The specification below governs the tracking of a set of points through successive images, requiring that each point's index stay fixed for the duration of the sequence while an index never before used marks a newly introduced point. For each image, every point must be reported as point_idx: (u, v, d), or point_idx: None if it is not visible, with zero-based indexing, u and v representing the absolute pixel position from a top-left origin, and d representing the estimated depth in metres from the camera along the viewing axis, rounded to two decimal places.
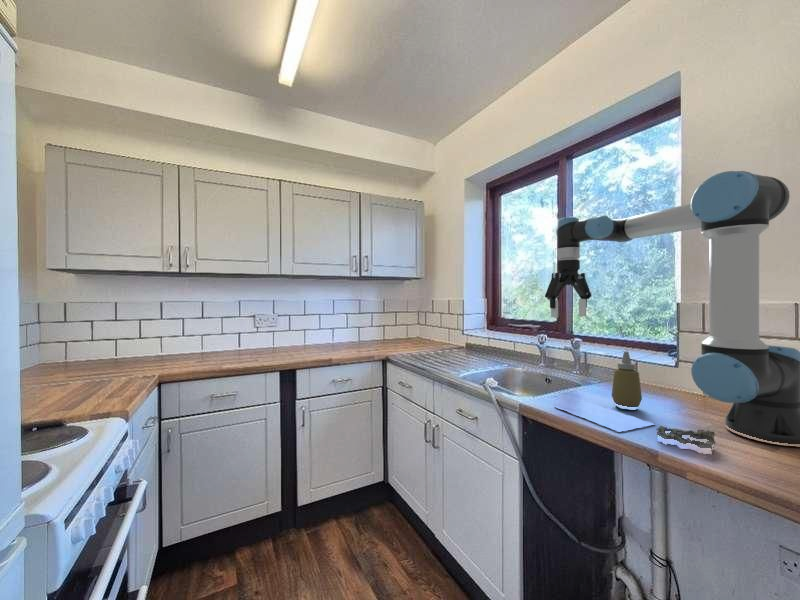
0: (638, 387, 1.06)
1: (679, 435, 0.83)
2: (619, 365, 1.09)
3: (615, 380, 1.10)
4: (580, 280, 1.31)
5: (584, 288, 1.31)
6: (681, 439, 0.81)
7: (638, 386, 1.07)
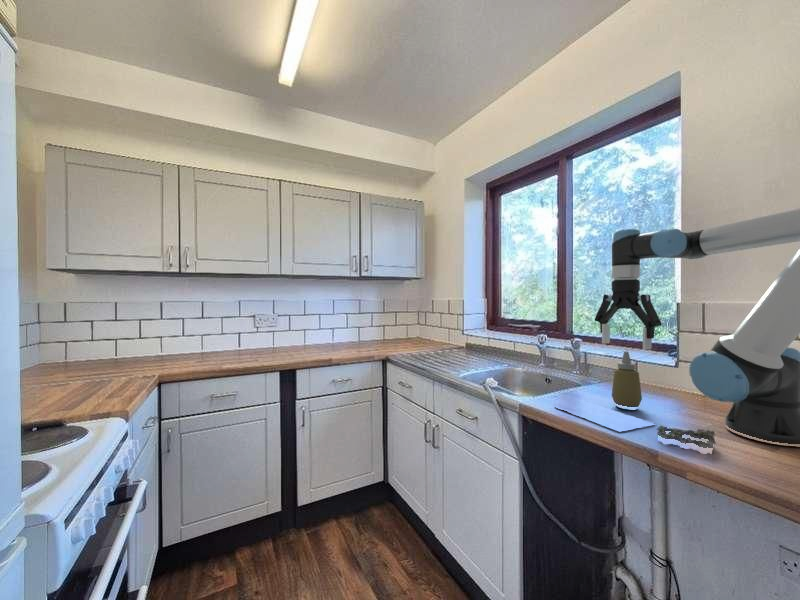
0: (638, 387, 1.06)
1: (679, 435, 0.83)
2: (619, 365, 1.09)
3: (615, 380, 1.10)
4: None
5: None
6: (682, 439, 0.81)
7: (638, 386, 1.07)
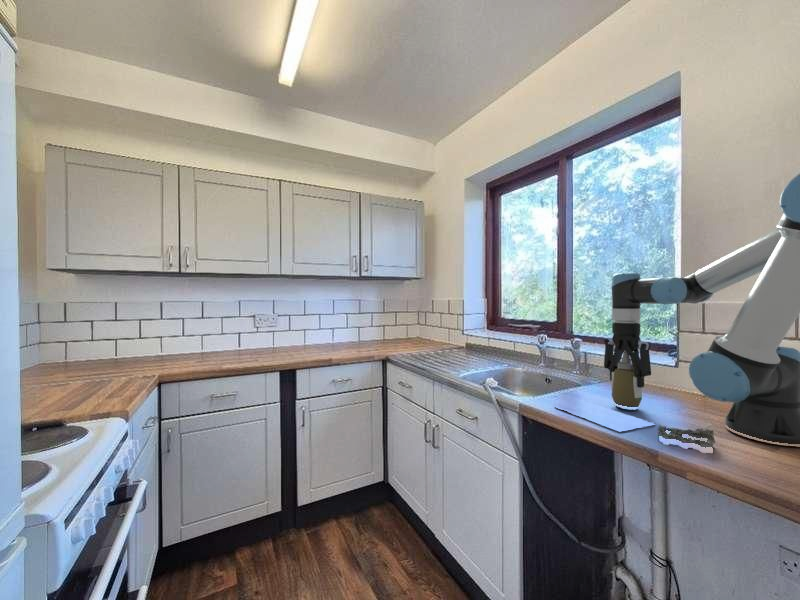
0: None
1: (680, 435, 0.83)
2: (619, 365, 1.09)
3: (615, 380, 1.10)
4: None
5: None
6: (683, 439, 0.81)
7: None
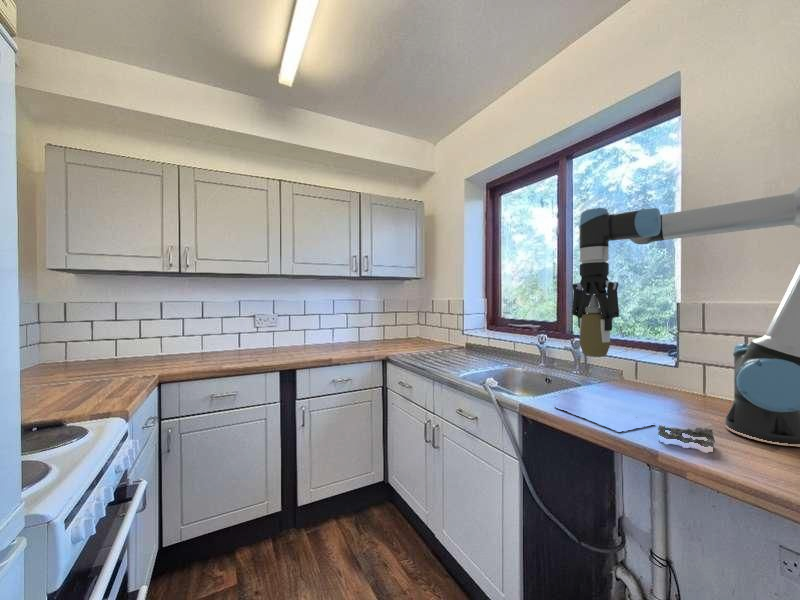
0: None
1: (680, 434, 0.83)
2: (586, 309, 1.02)
3: (582, 325, 1.02)
4: None
5: None
6: (684, 438, 0.81)
7: None
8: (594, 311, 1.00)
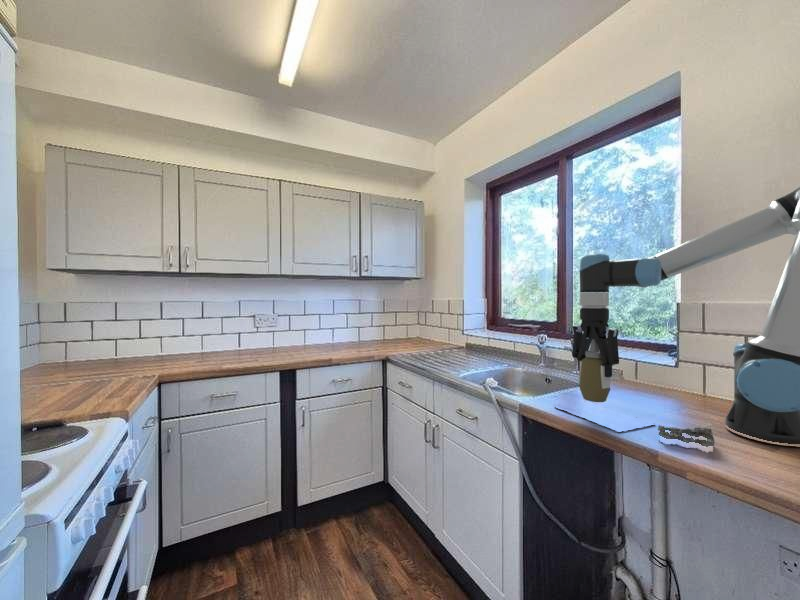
0: None
1: (680, 434, 0.84)
2: (586, 354, 1.02)
3: (582, 370, 1.02)
4: None
5: None
6: (685, 438, 0.81)
7: None
8: (594, 356, 1.00)
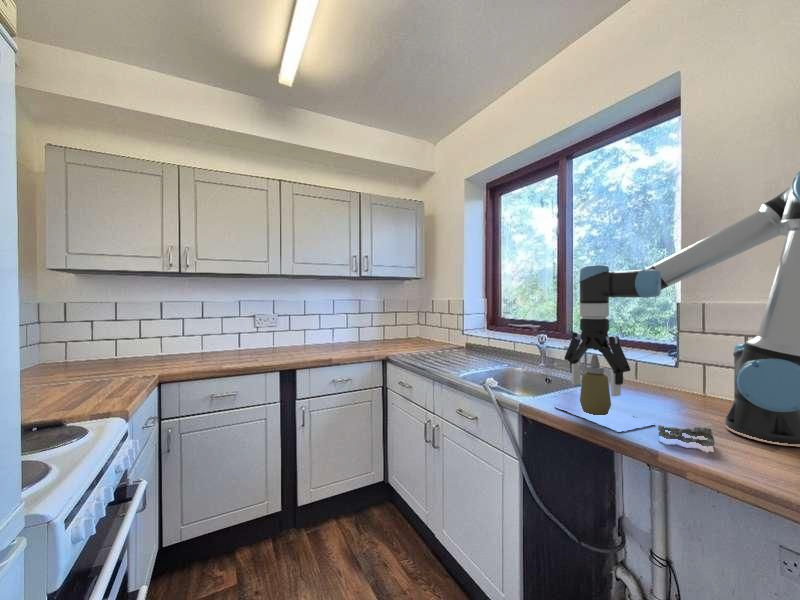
0: (607, 393, 0.99)
1: (680, 434, 0.84)
2: (587, 369, 1.02)
3: (583, 385, 1.02)
4: None
5: None
6: (685, 439, 0.81)
7: (607, 391, 0.99)
8: (595, 372, 1.00)
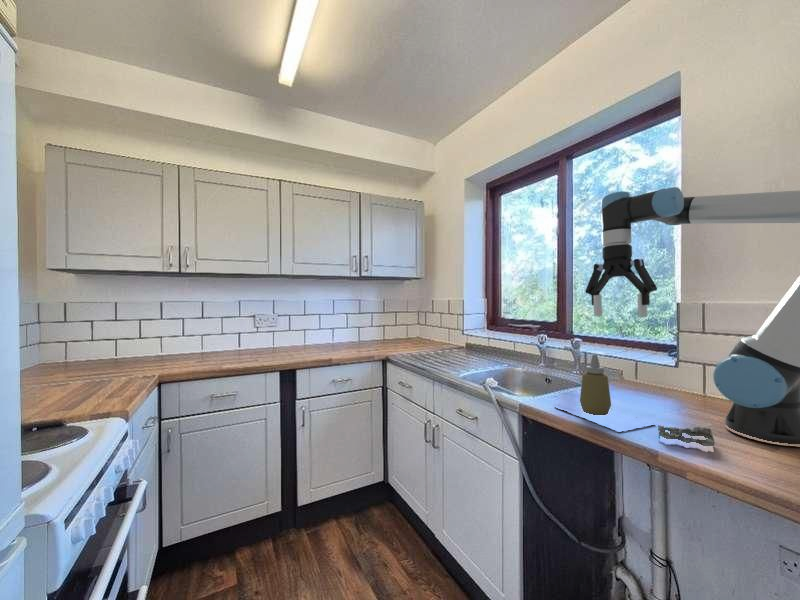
0: (607, 393, 0.99)
1: (680, 434, 0.84)
2: (587, 369, 1.02)
3: (583, 385, 1.02)
4: None
5: None
6: (685, 439, 0.81)
7: (607, 391, 0.99)
8: (595, 372, 1.00)
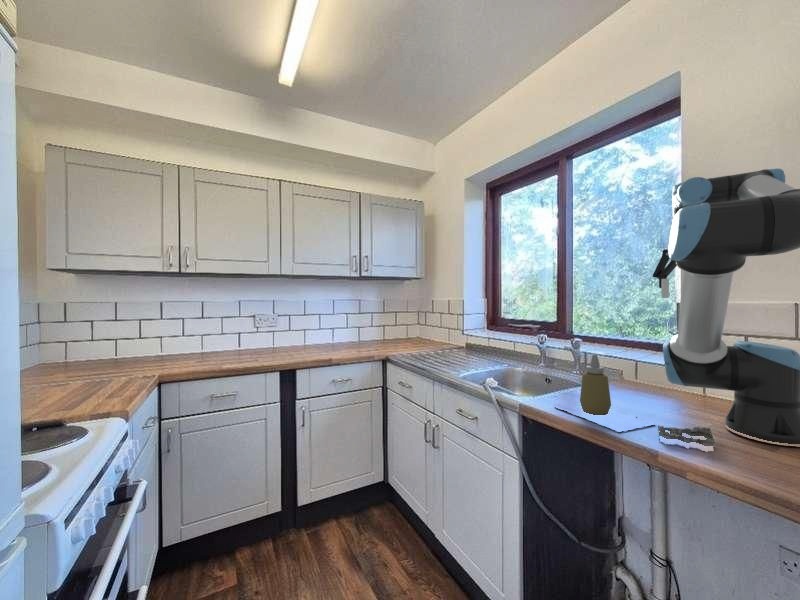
0: (607, 393, 0.99)
1: (680, 434, 0.84)
2: (587, 369, 1.02)
3: (583, 385, 1.02)
4: None
5: None
6: (685, 438, 0.81)
7: (607, 391, 0.99)
8: (595, 372, 1.00)
